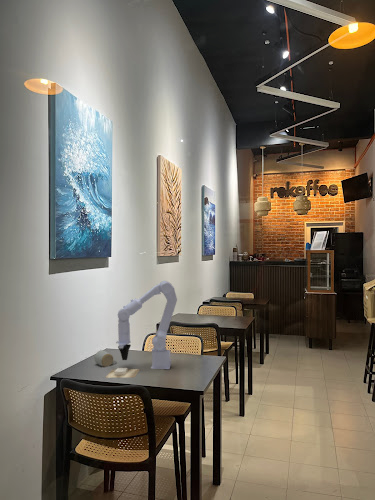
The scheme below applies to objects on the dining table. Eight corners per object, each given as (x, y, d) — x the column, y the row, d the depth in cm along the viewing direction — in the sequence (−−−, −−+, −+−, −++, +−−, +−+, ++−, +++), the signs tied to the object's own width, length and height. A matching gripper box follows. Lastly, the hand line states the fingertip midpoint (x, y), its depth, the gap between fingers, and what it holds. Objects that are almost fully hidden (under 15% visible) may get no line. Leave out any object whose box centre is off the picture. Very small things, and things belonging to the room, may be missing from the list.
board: (140, 370, 201) (140, 369, 201) (134, 378, 187) (134, 377, 187) (112, 370, 202) (112, 369, 202) (105, 378, 188) (105, 377, 188)
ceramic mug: (101, 368, 206) (101, 353, 206) (94, 365, 212) (94, 351, 212) (119, 365, 212) (119, 350, 213) (112, 362, 219) (112, 348, 219)
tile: (127, 367, 197) (124, 371, 191) (127, 371, 197) (124, 375, 191) (117, 367, 198) (114, 371, 191) (117, 371, 198) (114, 375, 191)
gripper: (119, 330, 210) (120, 356, 210) (112, 335, 196) (113, 363, 196) (133, 330, 210) (133, 356, 210) (126, 335, 195) (127, 363, 195)
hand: (124, 359), depth 203 cm, fingers closed
